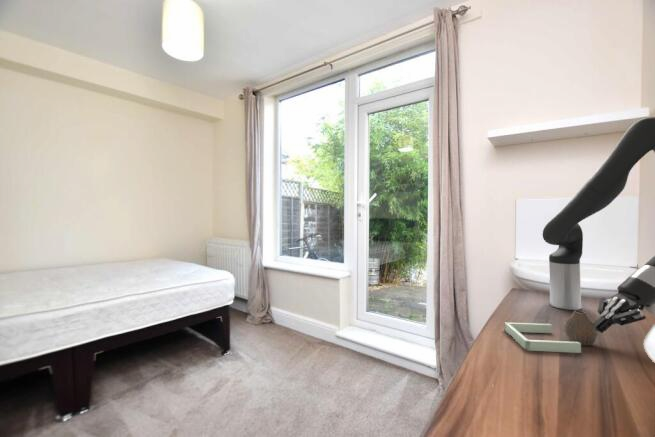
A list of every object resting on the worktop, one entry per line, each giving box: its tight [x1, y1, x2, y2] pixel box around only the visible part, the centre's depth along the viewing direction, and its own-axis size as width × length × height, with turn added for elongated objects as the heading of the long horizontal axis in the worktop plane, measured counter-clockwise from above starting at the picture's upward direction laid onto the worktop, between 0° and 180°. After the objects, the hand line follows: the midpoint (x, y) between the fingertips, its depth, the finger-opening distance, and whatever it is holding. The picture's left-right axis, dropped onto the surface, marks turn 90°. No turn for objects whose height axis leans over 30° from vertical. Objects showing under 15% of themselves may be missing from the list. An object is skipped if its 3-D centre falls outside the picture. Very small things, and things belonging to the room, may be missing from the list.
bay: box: [503, 321, 582, 354], centre depth 84 cm, size 14×13×2 cm
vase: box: [564, 310, 598, 347], centre depth 82 cm, size 7×7×9 cm
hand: (596, 329), depth 81 cm, fingers closed
